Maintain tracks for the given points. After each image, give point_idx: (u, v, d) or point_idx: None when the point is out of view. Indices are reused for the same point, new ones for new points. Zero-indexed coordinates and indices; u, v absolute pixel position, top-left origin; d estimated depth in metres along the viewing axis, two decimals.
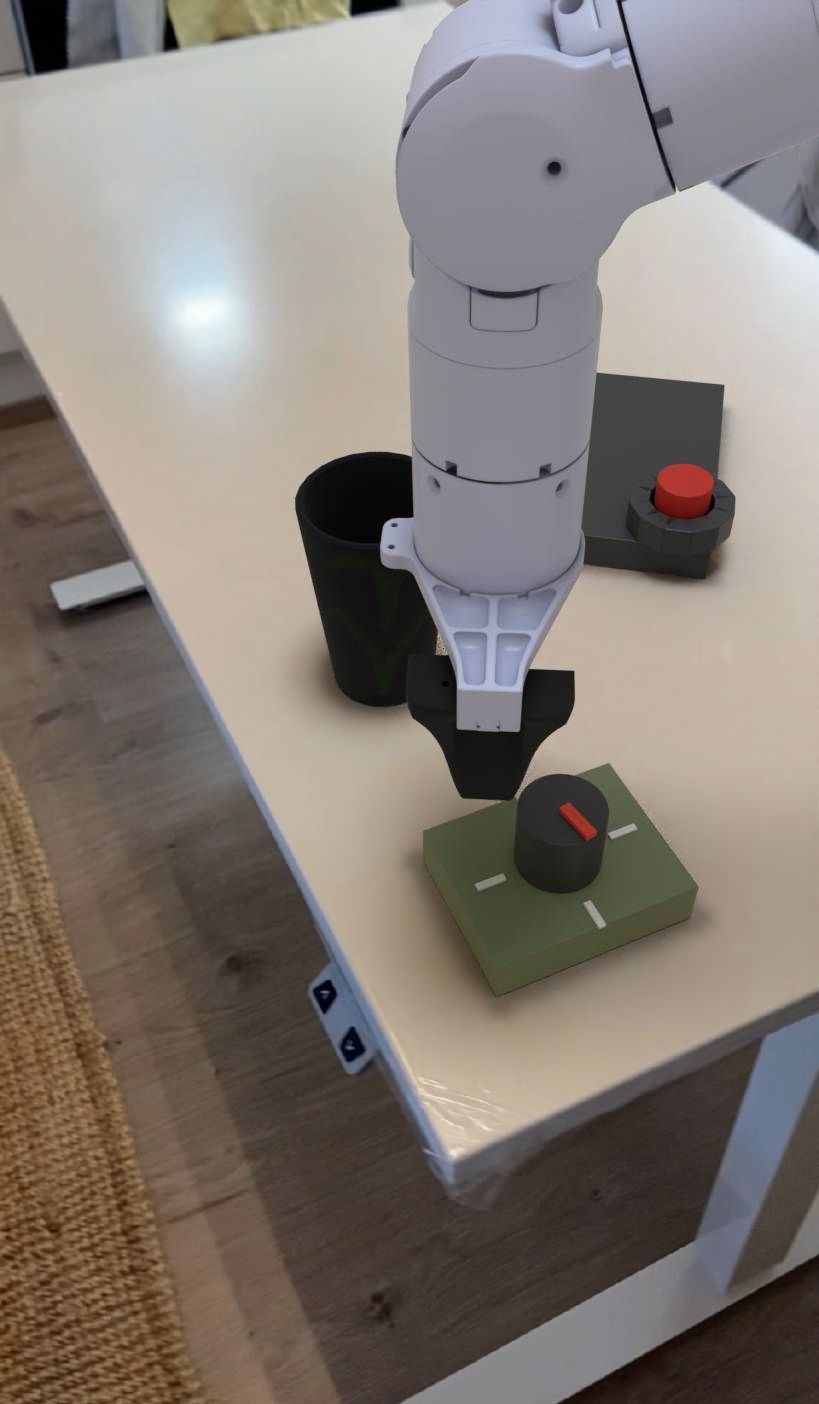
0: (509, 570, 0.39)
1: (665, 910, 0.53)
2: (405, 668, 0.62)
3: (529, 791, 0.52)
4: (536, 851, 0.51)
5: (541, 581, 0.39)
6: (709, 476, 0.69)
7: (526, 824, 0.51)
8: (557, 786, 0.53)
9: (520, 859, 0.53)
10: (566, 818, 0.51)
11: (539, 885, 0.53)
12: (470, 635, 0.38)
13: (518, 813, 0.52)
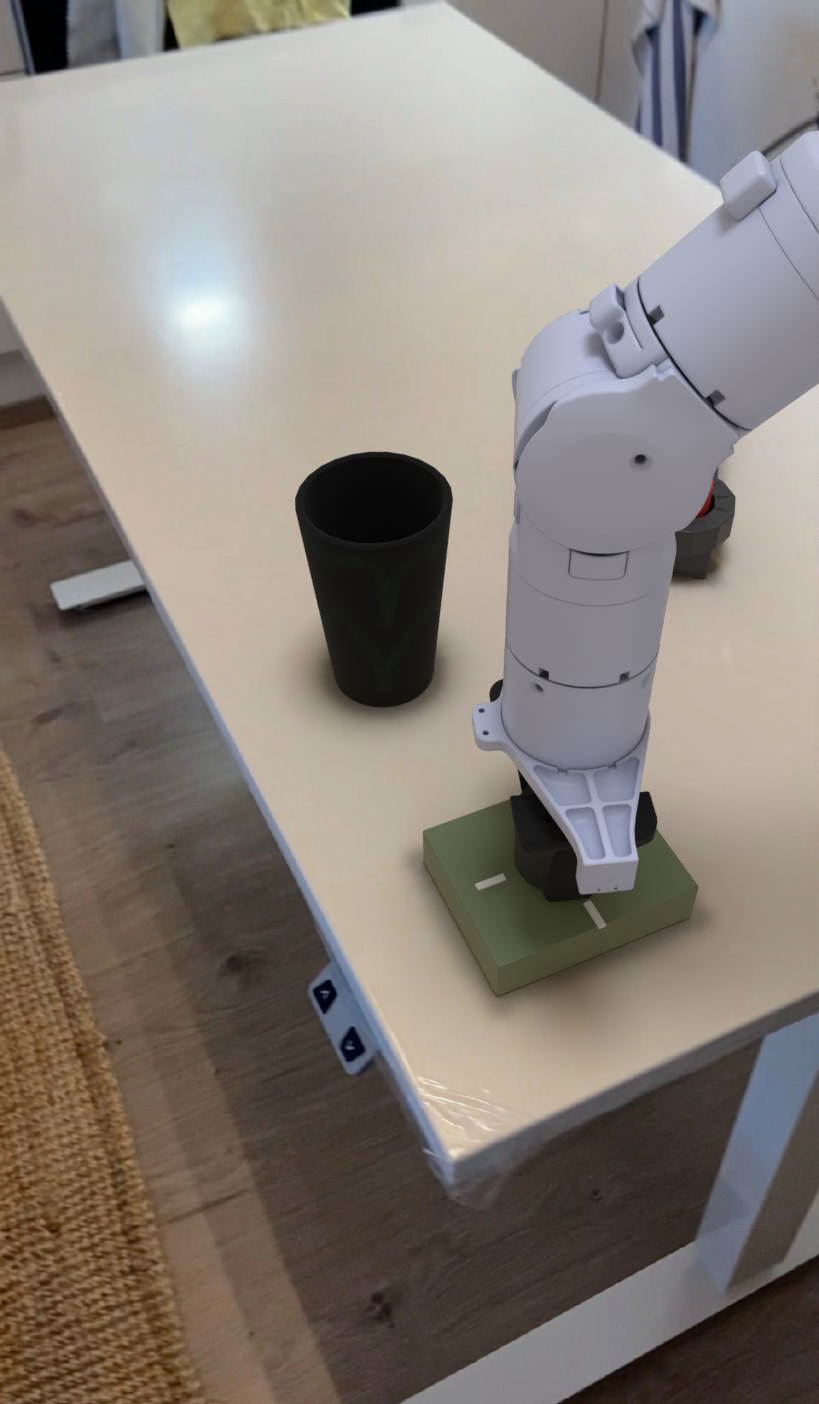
0: (601, 749, 0.45)
1: (665, 910, 0.53)
2: (405, 668, 0.62)
3: (529, 791, 0.52)
4: None
5: (625, 752, 0.46)
6: None
7: None
8: None
9: (520, 859, 0.53)
10: None
11: (539, 885, 0.53)
12: (578, 811, 0.44)
13: None
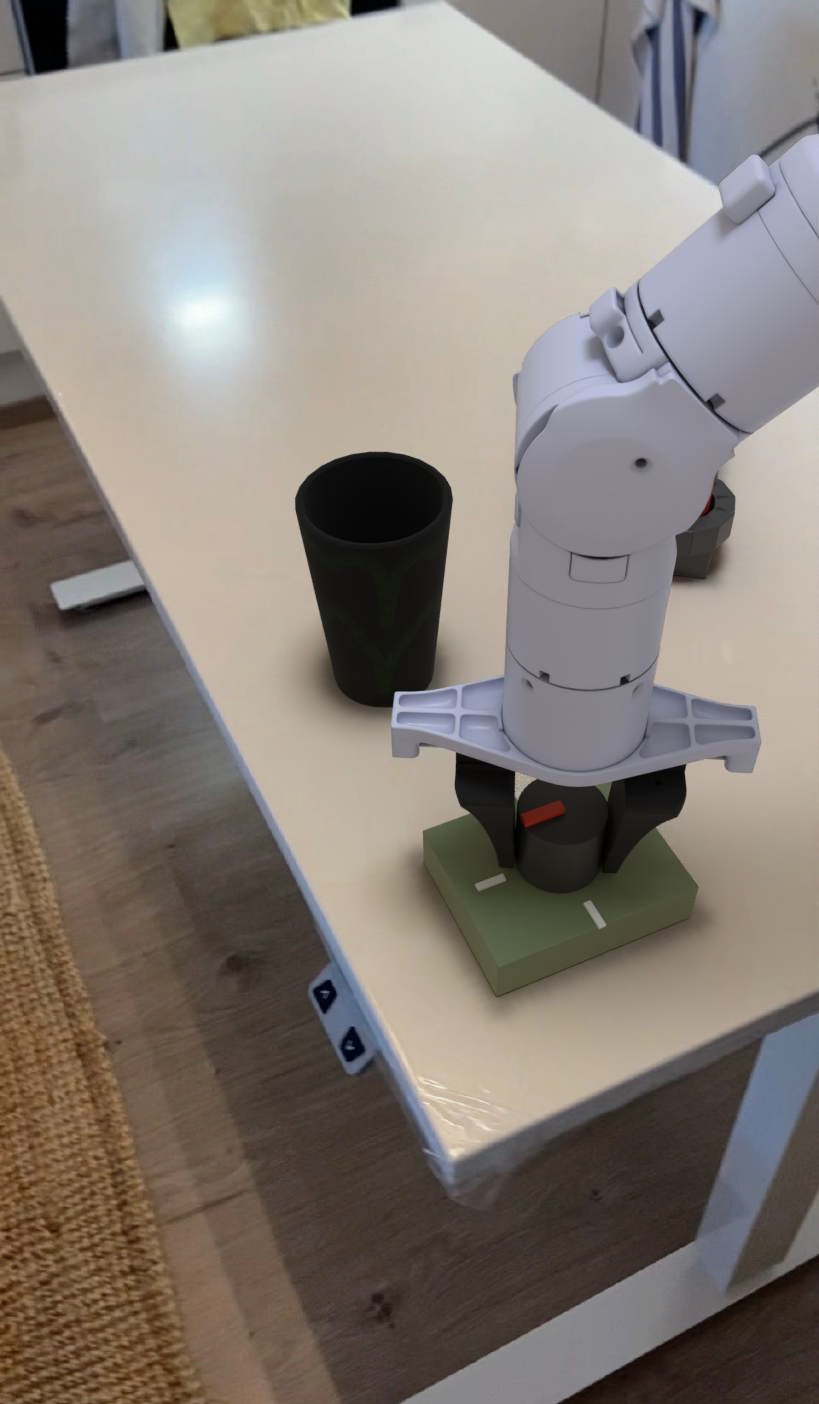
0: (503, 705, 0.47)
1: (665, 910, 0.53)
2: (405, 668, 0.62)
3: (588, 786, 0.53)
4: None
5: (512, 738, 0.46)
6: None
7: None
8: (591, 809, 0.52)
9: None
10: (549, 808, 0.52)
11: None
12: (456, 701, 0.48)
13: None
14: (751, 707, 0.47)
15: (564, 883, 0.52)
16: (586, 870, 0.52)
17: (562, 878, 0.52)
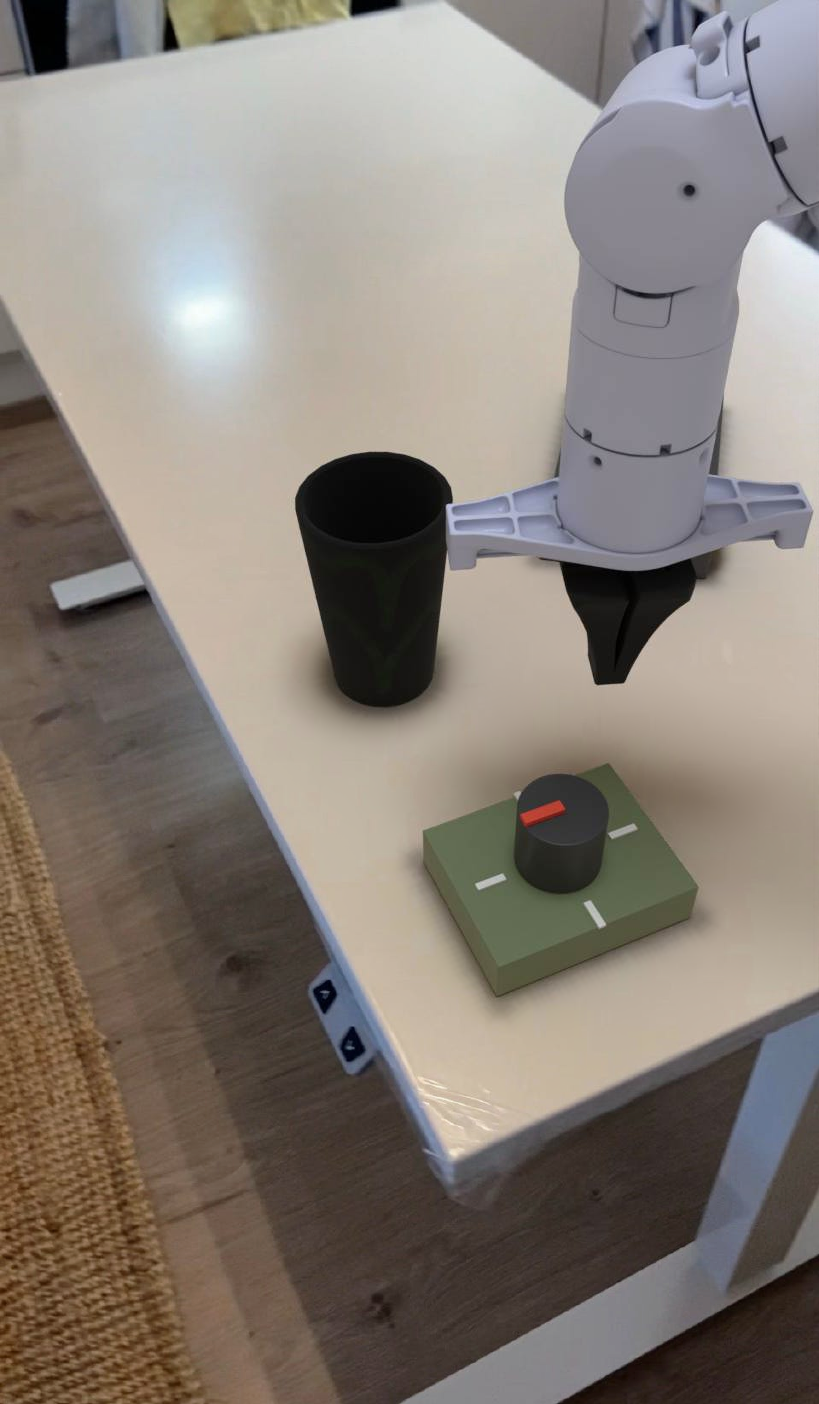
0: (562, 499, 0.47)
1: (665, 910, 0.53)
2: (405, 668, 0.62)
3: (588, 786, 0.53)
4: None
5: (575, 531, 0.46)
6: None
7: (547, 777, 0.53)
8: (591, 809, 0.52)
9: None
10: (549, 808, 0.52)
11: None
12: (508, 507, 0.48)
13: (562, 774, 0.53)
14: (796, 483, 0.48)
15: (564, 883, 0.52)
16: (586, 870, 0.52)
17: (562, 878, 0.52)
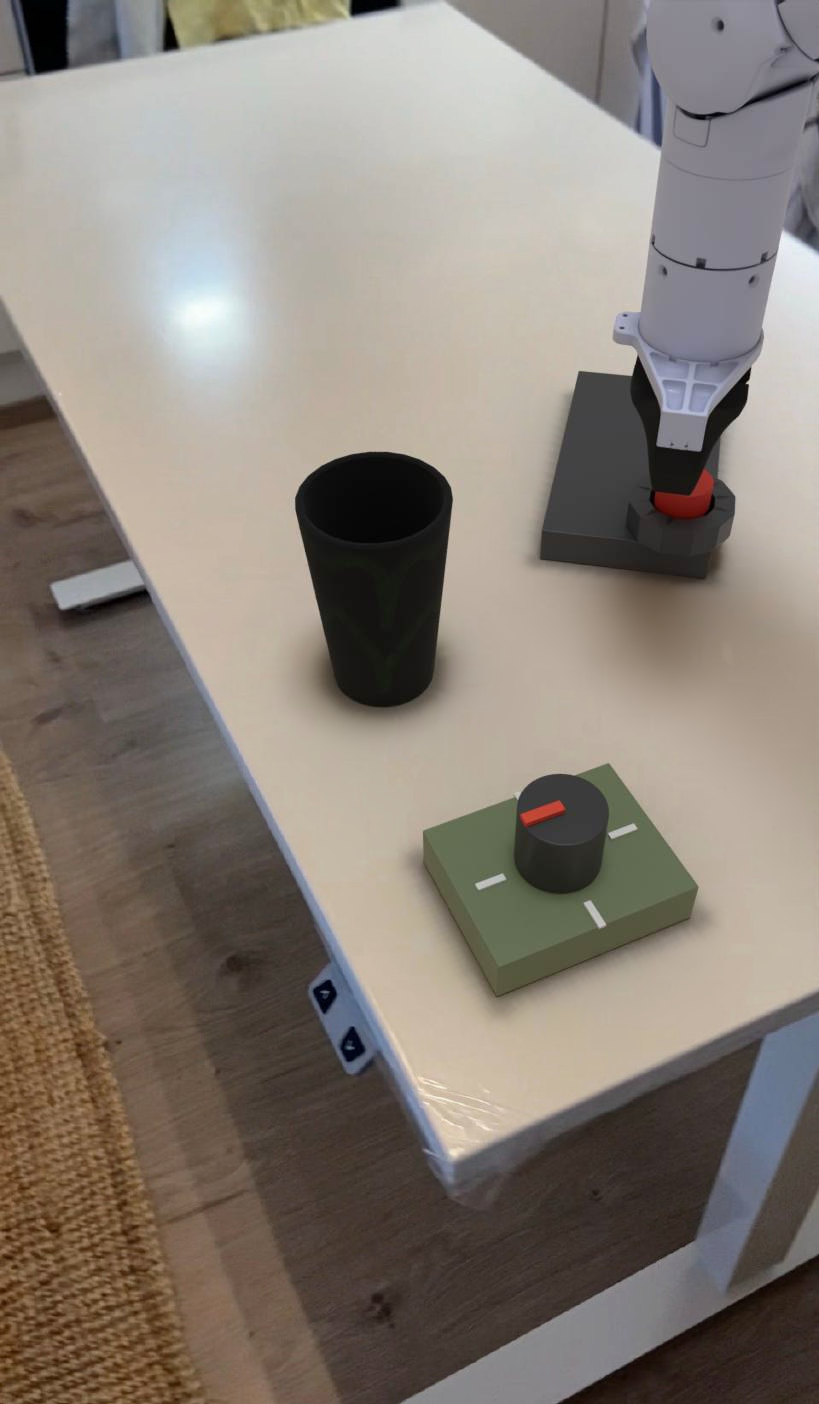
0: (707, 342, 0.54)
1: (665, 910, 0.53)
2: (405, 668, 0.62)
3: (588, 786, 0.53)
4: None
5: (729, 355, 0.55)
6: (709, 476, 0.69)
7: (547, 777, 0.53)
8: (591, 809, 0.52)
9: None
10: (549, 808, 0.52)
11: None
12: (673, 383, 0.54)
13: (562, 774, 0.53)
14: None
15: (564, 883, 0.52)
16: (586, 870, 0.52)
17: (562, 878, 0.52)
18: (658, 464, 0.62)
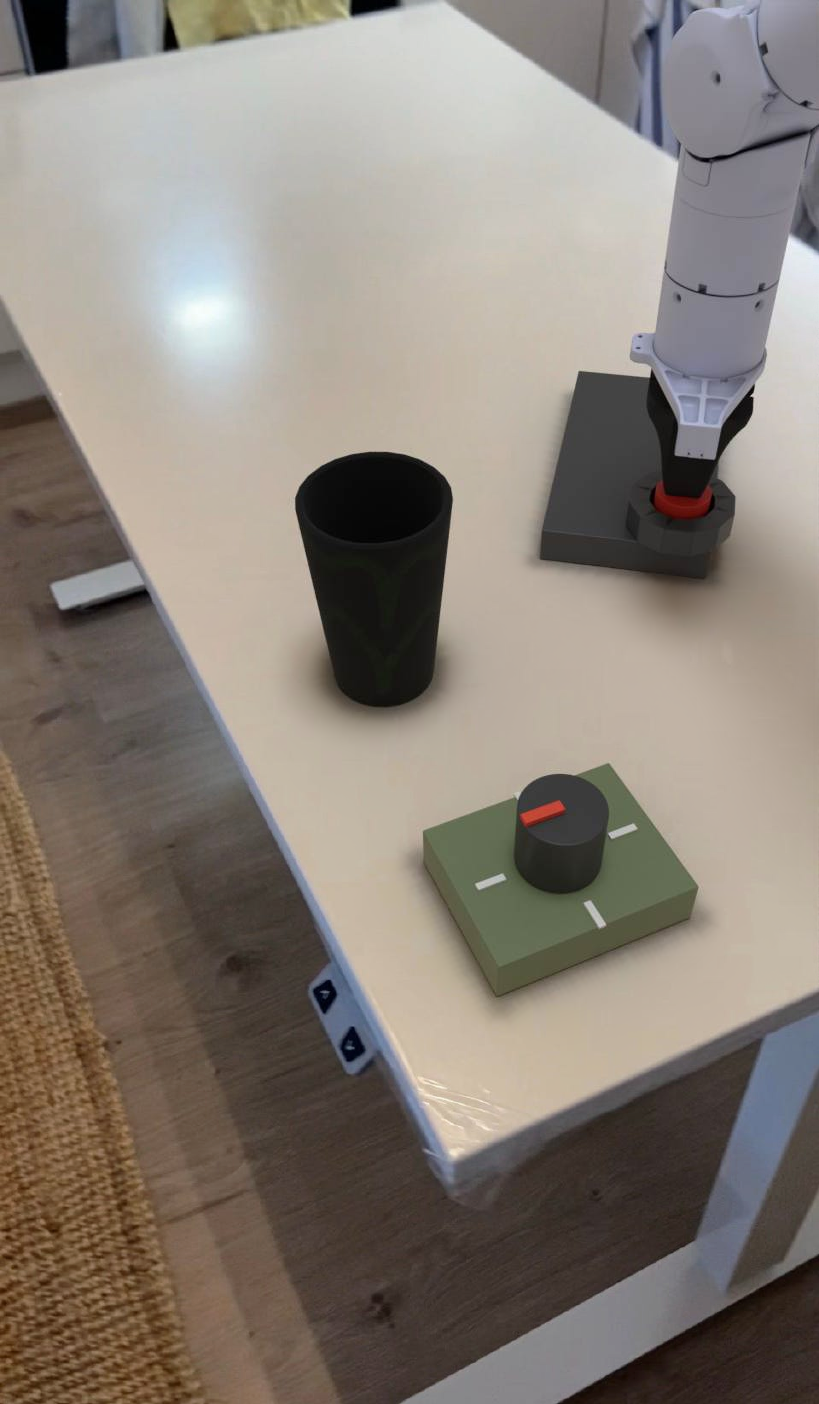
0: (717, 360, 0.60)
1: (665, 910, 0.53)
2: (405, 668, 0.62)
3: (588, 786, 0.53)
4: None
5: (737, 371, 0.61)
6: (707, 487, 0.70)
7: (547, 777, 0.53)
8: (591, 809, 0.52)
9: None
10: (549, 808, 0.52)
11: None
12: (688, 398, 0.60)
13: (562, 774, 0.53)
14: None
15: (564, 883, 0.52)
16: (586, 870, 0.52)
17: (562, 878, 0.52)
18: (670, 470, 0.68)
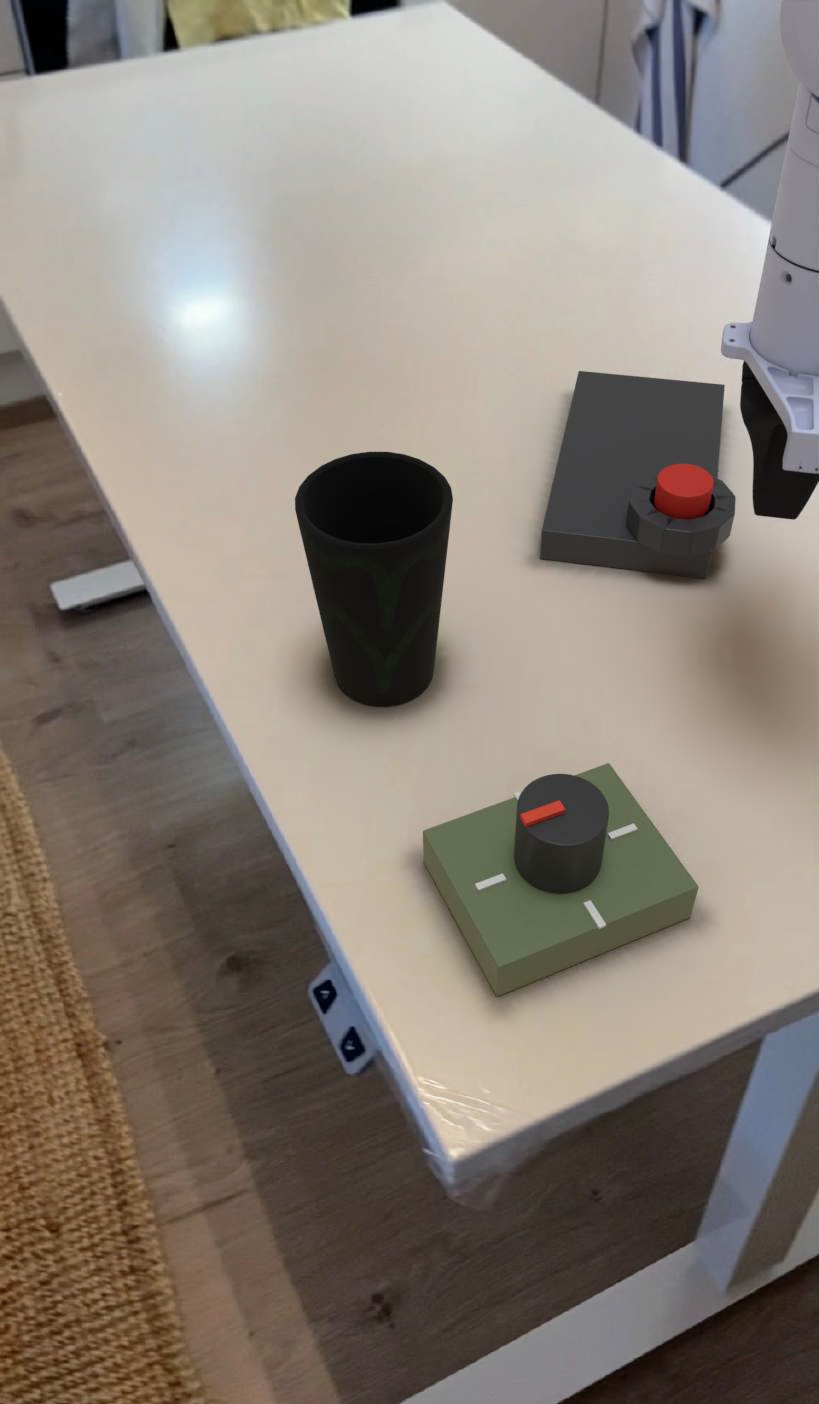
0: None
1: (665, 910, 0.53)
2: (405, 668, 0.62)
3: (588, 786, 0.53)
4: None
5: None
6: (709, 476, 0.69)
7: (547, 777, 0.53)
8: (591, 809, 0.52)
9: None
10: (549, 808, 0.52)
11: None
12: (798, 401, 0.49)
13: (562, 774, 0.53)
14: None
15: (564, 883, 0.52)
16: (586, 870, 0.52)
17: (562, 878, 0.52)
18: (763, 486, 0.57)
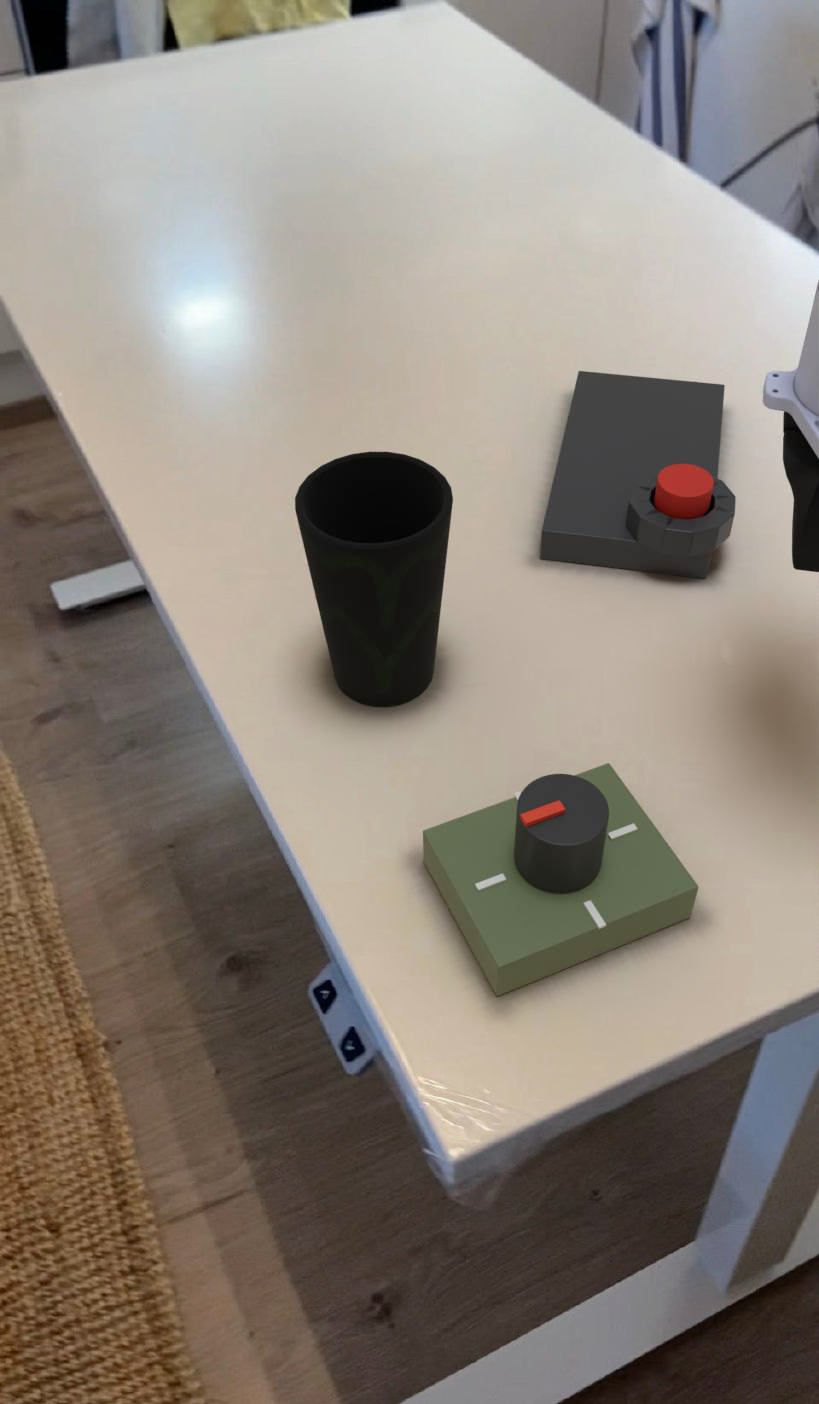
0: None
1: (665, 910, 0.53)
2: (405, 668, 0.62)
3: (588, 786, 0.53)
4: None
5: None
6: (709, 476, 0.69)
7: (547, 777, 0.53)
8: (591, 809, 0.52)
9: None
10: (549, 808, 0.52)
11: None
12: None
13: (562, 774, 0.53)
14: None
15: (564, 883, 0.52)
16: (586, 870, 0.52)
17: (562, 878, 0.52)
18: (804, 540, 0.54)
